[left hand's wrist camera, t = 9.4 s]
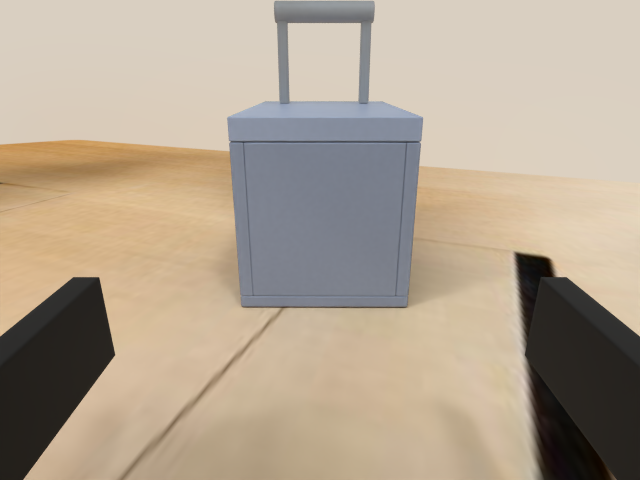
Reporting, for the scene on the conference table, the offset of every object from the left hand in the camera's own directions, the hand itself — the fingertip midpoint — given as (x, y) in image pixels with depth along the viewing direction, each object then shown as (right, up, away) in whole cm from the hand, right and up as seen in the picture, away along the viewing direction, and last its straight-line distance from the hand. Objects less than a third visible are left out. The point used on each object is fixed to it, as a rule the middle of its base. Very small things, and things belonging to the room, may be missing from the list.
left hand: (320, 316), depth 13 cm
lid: (0, +10, +16) cm, 19 cm away
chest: (0, +1, +19) cm, 19 cm away
